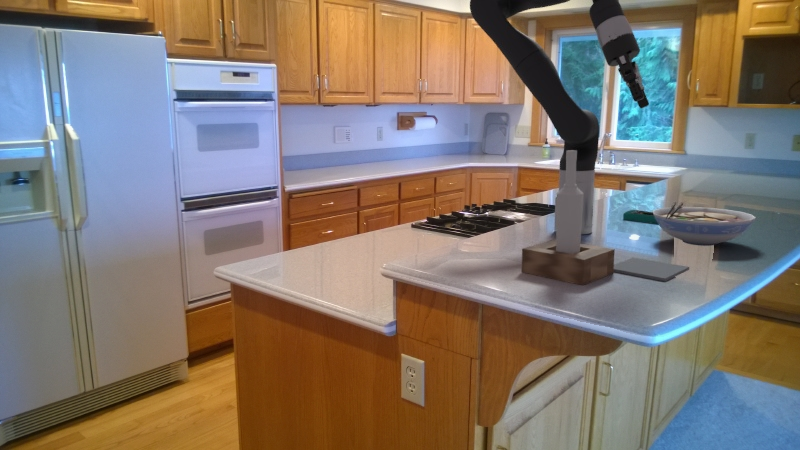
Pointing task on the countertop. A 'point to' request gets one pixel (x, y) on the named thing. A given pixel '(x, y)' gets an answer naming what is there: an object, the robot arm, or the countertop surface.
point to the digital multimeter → (640, 216)
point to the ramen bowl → (702, 224)
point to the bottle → (569, 210)
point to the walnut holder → (568, 262)
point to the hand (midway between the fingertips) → (642, 103)
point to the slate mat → (649, 269)
